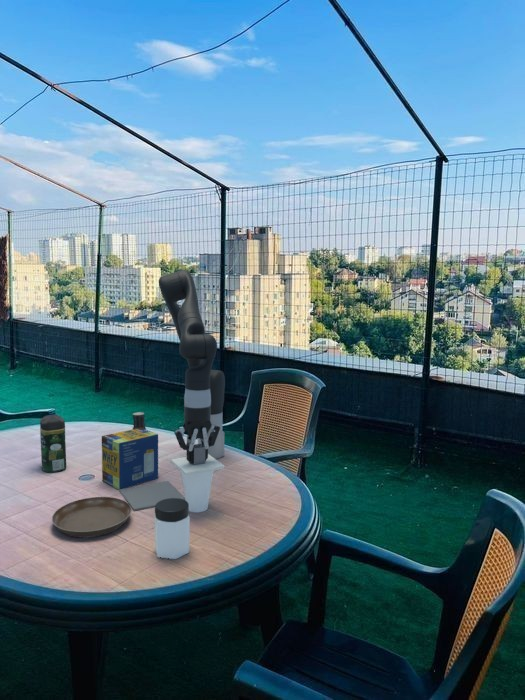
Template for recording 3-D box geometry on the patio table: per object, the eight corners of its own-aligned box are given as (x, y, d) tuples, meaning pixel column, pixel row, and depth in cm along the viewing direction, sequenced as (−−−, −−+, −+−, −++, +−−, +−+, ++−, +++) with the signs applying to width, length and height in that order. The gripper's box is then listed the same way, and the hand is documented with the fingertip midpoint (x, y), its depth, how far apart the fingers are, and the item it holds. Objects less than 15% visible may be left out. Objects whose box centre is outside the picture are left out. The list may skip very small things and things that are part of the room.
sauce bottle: (152, 465, 189) (152, 411, 186) (146, 471, 182) (146, 416, 180) (134, 464, 189) (134, 410, 187) (128, 470, 183) (127, 415, 180)
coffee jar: (40, 465, 186) (38, 414, 184) (63, 462, 190) (62, 412, 188) (43, 474, 178) (41, 421, 175) (68, 471, 182) (66, 418, 179)
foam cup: (186, 517, 149) (187, 473, 147) (176, 504, 157) (176, 462, 155) (217, 511, 153) (218, 468, 151) (206, 499, 161) (206, 458, 160)
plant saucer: (87, 550, 130) (87, 537, 130) (35, 528, 141) (35, 516, 140) (147, 519, 147) (147, 508, 147) (97, 501, 158) (96, 491, 158)
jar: (175, 538, 136) (175, 494, 135) (196, 549, 131) (196, 503, 130) (146, 551, 130) (146, 505, 128) (168, 563, 124) (168, 515, 123)
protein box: (101, 481, 173) (100, 435, 171) (141, 469, 184) (141, 426, 182) (118, 490, 166) (118, 443, 164) (159, 478, 177) (159, 433, 175)
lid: (207, 456, 161) (208, 437, 161) (224, 468, 151) (225, 449, 150) (170, 462, 155) (170, 443, 155) (185, 475, 145) (185, 455, 144)
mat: (168, 482, 173) (168, 480, 173) (186, 500, 160) (186, 498, 160) (119, 491, 166) (119, 489, 165) (134, 511, 152) (134, 509, 152)
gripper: (214, 398, 158) (214, 454, 160) (169, 403, 151) (169, 461, 153) (225, 404, 151) (224, 462, 153) (178, 409, 144) (178, 469, 146)
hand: (197, 461), depth 153 cm, fingers closed on lid, 3 cm apart
